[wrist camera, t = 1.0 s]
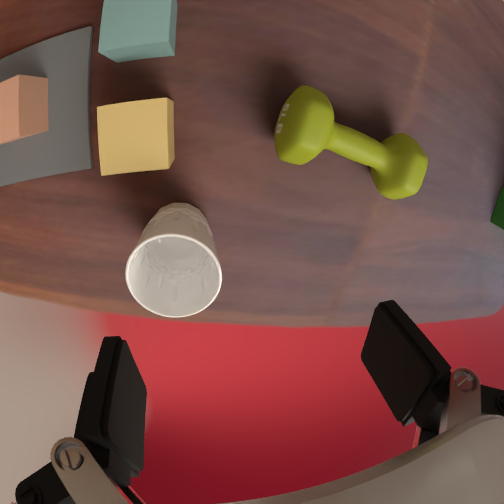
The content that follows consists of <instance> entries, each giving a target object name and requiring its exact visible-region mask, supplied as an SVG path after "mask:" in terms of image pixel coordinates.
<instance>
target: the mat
mask: <svg viewBox="0 0 504 504" xmlns="http://www.w3.org/2000/svg"><path fill="white" fill-rule="evenodd" d="M92 36H93V27H92V26H89V27H85V28H82V29H78V30H75V31H71V32H68V33H65V34H62V35H59V36H56V37H53V38H50V39H47V40H44V41H42V42H39V43H37V44H34V45H32V46H29V47H27V48H24V49H22V50H20V51H17V52H15V53H13V54H11V55H9V56H7V57H5V58H3V59H1V60H0V83H1V82H3V81H5V80H7V79H10V78H12V77H14V76H17V75H19V74H20V75H28V76H36V77H43V78H48V127H49V131H45V132H41V133H38V134H34V135H31V136H27V137H24V138H21V139H17V140H14V141H11V142H8V143H4V144H1V145H0V187H1V186H5V185H9V184H13V183H17V182H21V181H26V180H30V179H35V178H40V177H45V176H50V175H55V174H61V173H66V172H72V171H78V170H85V169H91V168H93V160H92V148H91V131H90V62H91V47H92Z"/></svg>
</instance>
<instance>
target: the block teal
mask: <svg viewBox="0 0 504 504" xmlns="http://www.w3.org/2000/svg"><path fill="white" fill-rule="evenodd" d="M177 7H178V6H177V1H176V0H104V4H103V11H102V19H101V27H100V37H99V50H98V52H99V53H101V54H103V55H104V56H106V57H108V58H109V59H111V60H113V61H115V62H116V63H119V62H125V61H131V60H138V59H146V58H155V57H164V56H175V36H176V20H177Z"/></svg>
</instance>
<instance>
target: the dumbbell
mask: <svg viewBox="0 0 504 504" xmlns="http://www.w3.org/2000/svg"><path fill="white" fill-rule="evenodd" d="M274 141H275V149H276V152H277V155H278V157H279V158H280V159H281V160H283V161H286V162H289V163H292V164H299V165H300V164H305V163H307V162H309V161H310V160H312V159H313V158H314V157H316V156H317V155H318V154H319V153H320V152H321V151H322V150H323V149H329V150H331V151H333V152H335V153H337V154H339V155H341V156H344V157H346V158H348V159H350V160H353V161H355V162H358V163H361V164H364V165H367V166H370V167H371V169H370V172H371V176H372V178H373V181H374V183H375V185H376V187H377V189H378V191H379V192H380V193H381V194H382V195H383V196H385V197H387V198H390V199H400V198H405V197H408V196H411V195H414V194H415V193H417V191H418V190H419V188H420V187H421V184H422V181H423V179H424V176H425V173H426V169H427V165H428V160H427V157H426V154H425V153H424V151H423V149H422V148H421V146H420V145H419V144H418V142H417V141H416V140H415V139H414V138H412V137H411V136H409V135H407V134H404V133H398V134H395V135H393V136H390V137H388V138H387V139H385V140H383V141H382V142H381V143H379V142H378V141H376V140H375V139H373V138H371V137H369V136H367V135H365V134H363V133H361V132H359V131H357V130H354V129H352V128H349V127H347V126H344V125H340V124H338V123H336V122H334V111H333V107H332V105H331V103H330V101H329V99H328V97H327V96H326V95H325V94H324V93H323V92H321V91H320V90H318V89H316V88H313V87H310V86H307V85H303V86H300V87H299V88H297V89H296V90H295V91H294V92H293V93H292V94H291V96H290V97H289V98H288V99H287V100H286V102H285V103H284V105H283V107H282V109H281V111H280V114H279V117H278V120H277V123H276V127H275V132H274Z"/></svg>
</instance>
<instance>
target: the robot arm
mask: <svg viewBox="0 0 504 504" xmlns="http://www.w3.org/2000/svg"><path fill="white" fill-rule="evenodd" d="M361 359H362V362H363V363H364V365H365V367H366V368H367V370H368V372H369V373H370V375H371V376H372V378H373V380H374V382H375V384H376V385H377V387H378V389H379V390H380V392H381V394H382V395H383V397H384V399H385V401H386V402H387V404H388V406H389V407H390V409H391V411H392V413H393V414H394V416H395V418H396V419H397V421H399V422H401V423H402V425H403V426H406V425H408V424H410V423H412V422H414V421H415V422H416V423H417V429H416V434H415V439H414V443H413V448H412V449H411V450H409V451H407V452H405V453H403V454H401V455H399V456H397V457H394V458H392V459H390V460H388V461H385V462H383V463H381V464H378V465H376V466H373V467H371V468H368V469H366V470H363V471H361V472H358V473H355V474H353V475H350V476H347V477H344V478H341V479H338V480H335V481H332V482H328V483H325V484H322V485H318V486H315V487H311V488H308V489H304V490H300V491H296V492H291V493H286V494H282V495H277V496H272V497H266V498H260V499H254V500H247V501H240V502H232V503H222V504H504V390H500V389H496V388H491V387H488V386H484V385H480V380H479V378H478V376H477V375H476V374H475V373H474V372H473V371H472V370H470V369H467V368H462V367H461V368H457V369H456V370H454V371H453V372H452V373H451V372H450V369H451V367H450V365H449V364H448V363H447V362H446V360H445V359H444V358H443V357H442V355H441V354H440V353H439V352H438V350H437V349H436V348H435V347H434V346H433V345H432V343H431V342H430V341H429V340H428V338H427V337H426V336H425V335H424V334H423V333H422V331H421V330H420V329H419V328H418V327H417V326H416V324H415V323H414V322H413V321H412V320H411V319H410V318H409V317H408V315H407V314H406V313H405V312H404V311H403V310H402V309H401V308H400V306H399V305H398V304H397V303H396V302H395V301H394V300H389V301H385V302H381V303H379V304H378V306H377V307H376V308H375V310H374V314H373V317H372V321H371V324H370V327H369V331H368V334H367V337H366V340H365V343H364V346H363V349H362V352H361ZM146 397H147V391H146V386H145V384H144V381H143V379H142V377H141V375H140V372H139V370H138V368H137V366H136V363H135V361H134V359H133V356H132V354H131V351H130V349H129V346H128V344H127V342H126V340H122V339H121V337H120V336H111V337H104V339H103V341H102V345H101V348H100V352H99V355H98V359H97V362H96V366H95V370H94V372H91V373H89V375H88V378H87V381H86V385H85V389H84V393H83V397H82V401H81V405H80V410H79V415H78V419H77V424H76V429H75V434H74V438H72V437H68V438H67V437H66V438H63V439H60V440H59V441H57V443H55V444H54V446H53V448H52V450H51V462H50V463H48V464H47V465H45V466H44V467H42V468H41V469H39V470H38V471H37V472H35V473H33V474H32V475H30V476H29V477H27V478H26V479H24V480H23V481H21V482H20V483H19V484H18V486H17V488H16V493H15V496H16V503H13V502H12V503H11V504H145V503H144V501H142V499H141V498H140V497H139V496H138V495H137V494H136V493H135V492H134V491H133V490H132V488H131V487H130V486H129V485H130V477H139V471H142V470H143V467H144V430H145V412H146Z"/></svg>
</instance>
